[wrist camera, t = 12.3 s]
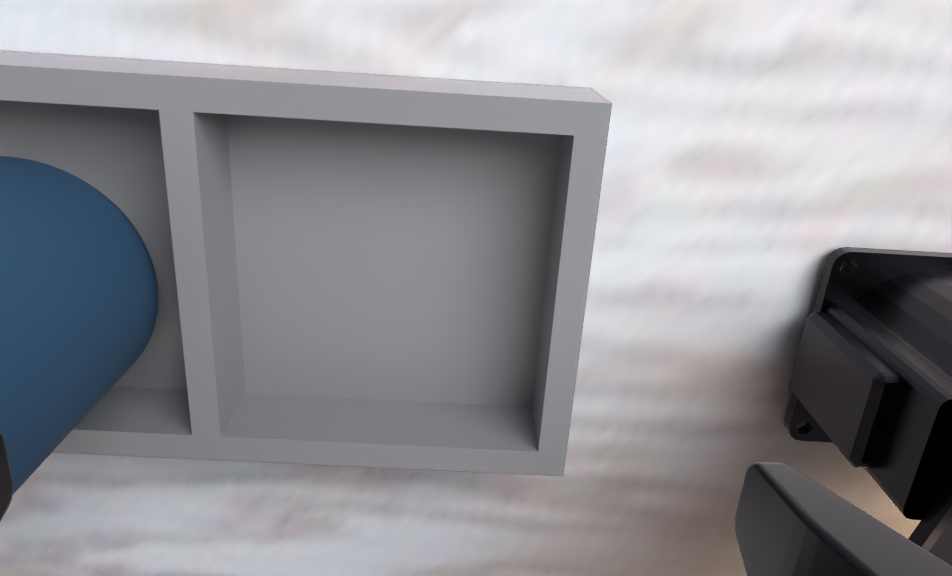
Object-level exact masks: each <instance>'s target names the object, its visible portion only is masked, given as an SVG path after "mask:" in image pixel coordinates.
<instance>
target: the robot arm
mask: <svg viewBox="0 0 952 576" xmlns="http://www.w3.org/2000/svg"><path fill="white" fill-rule="evenodd" d="M846 260H851V264H850V266H849V268H847V269H846V270H844V271H840V266H841V265H842V263H843V262H845V261H846ZM789 388H790V390H791V391H792V393H791V397H790V400H789V404H788V408H787V412H786V416H785V420H784V426H785V428H786V430H787V431H788V432H789V434H790V435H791V436H792V437H793V438H794V439H796V440H800V441H817V442H833V443H834V444H835V445H836V446H837V447H838V449H839V450H840V451H841V452H842V454H843V455H844V456H845V457H846V458H847V460H848V461H849V462H850V463H851V465H852V466H854V467H857V468H865V469H866V470H867V472H868V473H869V474H870V475H871V476H872V478H873V479H874V480H875V481H876V482H877V484H878V485H879V486H880V487H881V488H882V489H883V491H884V492H885V493H886V494H887V495H888V497H889V498H890V499H891V500H892V501H893V503H894V504H895V505H896V506H897V507H898V509H899V510H900V511H901V512H902V513H903V515H904V516H905V517H906V518H909V519H913V520H921V522H920V523H919V524H918V526H917V527H916V529H915V530H914V532H913V533H912V534H911V536H910V537H909V539H907V538H905V537H904V536H902V535H901V534H899V533H897V532H896V531H894V530H893V529H891V528H889V527H888V526H886V525H885V524H883V523H881V522H880V521H878V520H877V519H875V518H873V517H872V516H870V515H869V514H867V513H865V512H864V511H862V510H860V509H859V508H857V507H856V506H854V505H852V504H851V503H849V502H848V501H846V500H844V499H843V498H841V497H840V496H838V495H836V494H835V493H833V492H832V491H830V490H828V489H827V488H825V487H823V486H822V485H820V484H819V483H817V482H815V481H814V480H812V479H811V478H809V477H807V476H806V475H804V474H803V473H801V472H799V471H798V470H796V469H795V468H793V467H791V466H790V465H788V464H785V463H778V462H754V463H752V464H751V465H750V466H749V467H748V469H747V472H746V475H745V479H744V483H743V487H742V491H741V495H740V499H739V503H738V508H737V512H736V517H735V530H736V536H737V540H738V544H739V547H740V551H741V555H742V558H743V562H744V565H745V569H746V573H747V576H952V253H938V252H920V251H903V250H886V249H868V248H851V247H844V248H839V249H837V250H835V251H833V252H832V253H831V254H830V255H829V256H828V258H827V260H826V263H825V267H824V271H823V274H822V278H821V282H820V286H819V290H818V293H817V297H816V301H815V305H814V309H813V313H811V314H810V315H809V316H808V318H807V319H806V321H805V325H804V329H803V333H802V337H801V341H800V344H799V348H798V352H797V356H796V360H795V364H794V368H793V371H792V375H791V379H790V383H789ZM802 421H807V422H806V424H805V425H804V426H802V427H798V428H797V426H798V424H799V423H801V422H802ZM12 495H13V479H12V475H11V470H10V466H9V461H8V456H7V452H6V447H5V443H4V439H3V436H2V434H1V432H0V521H1V519H2V518H3V516H4V514H5V512H6V510H7V509H8V507H9V504H10V502H11V499H12Z"/></svg>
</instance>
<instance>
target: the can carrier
mask: <svg viewBox="0 0 952 576" xmlns="http://www.w3.org/2000/svg"><path fill="white" fill-rule="evenodd" d="M611 107H612V103H611V102H609V101H608V100H607V99H605V98H604V97H603V96H602V95H600V94H599V93H598V92H596V91H595V90H594V89H592V88H581V87H565V86H550V85H534V84H518V83H503V82H487V81H471V80H456V79H440V78H424V77H409V76H393V75H377V74H361V73H346V72H330V71H314V70H299V69H283V68H267V67H252V66H236V65H220V64H204V63H189V62H173V61H157V60H142V59H126V58H110V57H95V56H79V55H63V54H48V53H32V52H16V51H0V156H7V157H17V158H24V159H29V160H34V161H38V162H41V163H45V164H48V165H51V166H54V167H56V168H59V169H61V170H64V171H66V172H68V173H70V174H72V175H74V176H76V177H78V178H80V179H82V180H83V181H85V182H87V183H88V184H90V185H91V186H93V187H94V188H96V189H97V190H99V191H100V192H101V193H103V194H104V195H105V196H106V197H108V198H109V199H110V200H111V201H112V202H113V203H114V204H115V205H116V206H118V207H119V208H120V209H121V211H122V212H123V213H124V214H125V215H126V216H127V217H128V219H129V220H130V221H131V222H132V224H133V225H134V227H135V228H136V229H137V231H138V233H139V234H140V236H141V238H142V240H143V242H144V244H145V245H146V248H147V250H148V252H149V255H150V257H151V260H152V263H153V266H154V270H155V274H156V279H157V285H158V312H157V318H156V323H155V327H154V330H153V333H152V335H151V338H150V340H149V342H148V344H147V346H146V348H145V349H144V351H143V352H142V354H141V355H140V357H139V358H138V359H137V360H136V362H135V363H134V364H133V365H132V366H131V367H130V368H129V369H128V370H127V371H126V372H125V373H124V375H123V376H122V377H121V378H120V379H119V380H118V381H117V382H116V383H115V384H114V385H113V386H112V388H111V389H110V390H109V391H108V392H107V393H106V394H105V395H104V396H103V397H102V398H101V399H100V401H99V402H98V403H97V404H96V405H95V406H94V407H93V408H92V409H91V410H90V411H89V412H88V414H87V415H86V416H85V417H84V418H83V419H82V420H81V421H80V422H79V423H78V424H77V425H76V427H75V428H74V429H73V430H72V431H71V432H70V433H69V434H68V435H67V436H66V437H65V438H64V440H63V441H62V442H61V443H60V444H59V445H58V446H57V447H56V448H55V449H54V450H53V451H52V452H58V453H79V454H100V455H121V456H143V457H164V458H185V459H207V460H228V461H249V462H270V463H292V464H313V465H334V466H355V467H377V468H398V469H419V470H441V471H462V472H483V473H504V474H526V475H547V476H563V474H564V466H565V459H566V451H567V443H568V436H569V428H570V420H571V413H572V405H573V397H574V390H575V382H576V374H577V367H578V359H579V351H580V344H581V336H582V328H583V321H584V313H585V305H586V298H587V290H588V283H589V275H590V267H591V260H592V252H593V244H594V237H595V229H596V221H597V214H598V206H599V198H600V191H601V183H602V175H603V168H604V160H605V152H606V145H607V137H608V130H609V122H610V114H611Z"/></svg>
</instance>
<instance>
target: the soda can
mask: <svg viewBox="0 0 952 576" xmlns="http://www.w3.org/2000/svg"><path fill="white" fill-rule="evenodd" d="M157 312H158V285H157V279H156V274H155V270H154V266H153V263H152V260H151V257H150V255H149V252H148V250H147V248H146V245H145V244H144V242H143V240H142V238H141V236H140V234H139V233H138V231H137V229H136V228H135V227H134V225H133V224H132V222H131V221H130V220H129V219H128V217H127V216H126V215H125V214H124V213H123V212H122V211H121V209H120V208H119V207H118V206H116V205H115V204H114V203H113V202H112V201H111V200H110V199H109V198H108V197H106V196H105V195H104V194H103V193H101V192H100V191H99V190H97V189H96V188H94V187H93V186H91V185H90V184H88V183H87V182H85V181H83V180H82V179H80V178H78V177H76V176H74V175H72V174H70V173H68V172H66V171H64V170H61V169H59V168H56V167H54V166H51V165H48V164H45V163H41V162H38V161H34V160H29V159H24V158H17V157H7V156H0V432H1V434H2V436H3V439H4V443H5V447H6V452H7V456H8V461H9V466H10V470H11V475H12V479H13V494H14V493H15V492H16V490H17V489H18V488H19V487H20V486H21V485H22V484H23V483H24V482H25V481H26V480H27V479H28V477H29V476H30V475H31V474H32V473H33V472H34V471H35V470H36V469H37V468H38V467H39V466H40V464H41V463H42V462H43V461H44V460H45V459H46V458H47V457H48V456H49V455H50V454H51V453H52V451H53V450H54V449H55V448H56V447H57V446H58V445H59V444H60V443H61V442H62V441H63V440H64V438H65V437H66V436H67V435H68V434H69V433H70V432H71V431H72V430H73V429H74V428H75V427H76V425H77V424H78V423H79V422H80V421H81V420H82V419H83V418H84V417H85V416H86V415H87V414H88V412H89V411H90V410H91V409H92V408H93V407H94V406H95V405H96V404H97V403H98V402H99V401H100V399H101V398H102V397H103V396H104V395H105V394H106V393H107V392H108V391H109V390H110V389H111V388H112V386H113V385H114V384H115V383H116V382H117V381H118V380H119V379H120V378H121V377H122V376H123V375H124V373H125V372H126V371H127V370H128V369H129V368H130V367H131V366H132V365H133V364H134V363H135V362H136V360H137V359H138V358H139V357H140V355H141V354H142V352H143V351H144V349H145V348H146V346H147V344H148V342H149V340H150V338H151V335H152V333H153V330H154V327H155V323H156V318H157Z"/></svg>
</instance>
